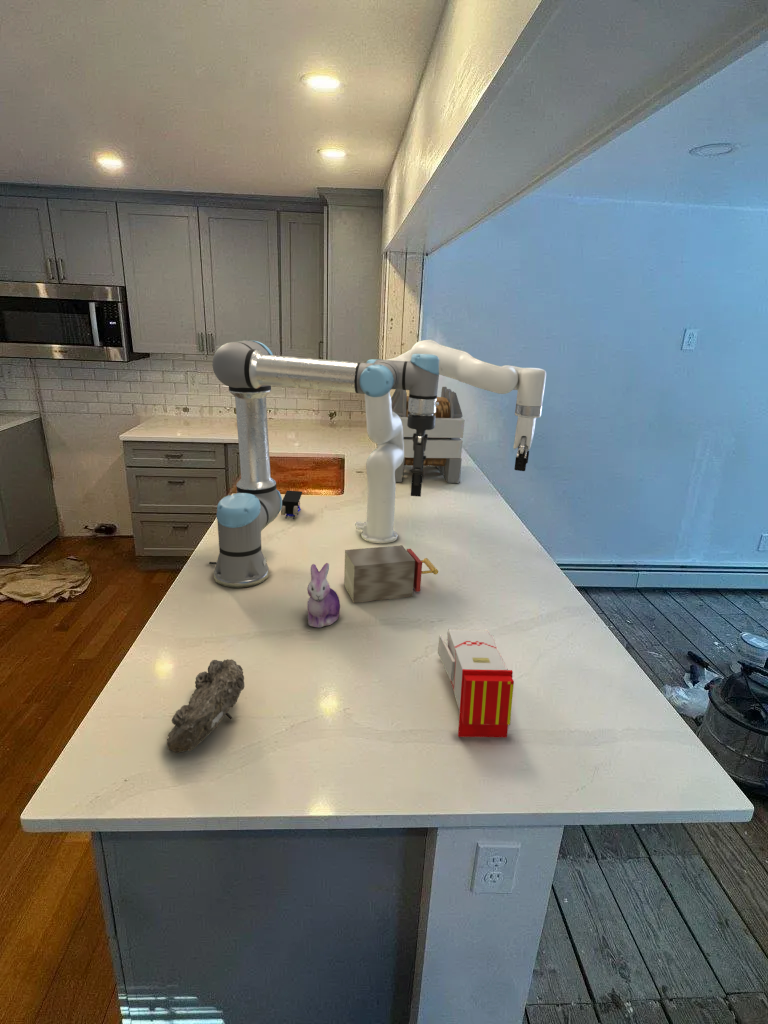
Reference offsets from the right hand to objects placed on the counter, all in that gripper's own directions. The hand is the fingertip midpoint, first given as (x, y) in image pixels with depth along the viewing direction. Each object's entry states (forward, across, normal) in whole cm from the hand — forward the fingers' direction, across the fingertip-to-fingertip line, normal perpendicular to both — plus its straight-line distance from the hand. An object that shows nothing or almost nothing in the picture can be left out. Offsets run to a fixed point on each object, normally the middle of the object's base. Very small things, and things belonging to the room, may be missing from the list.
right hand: (521, 466), depth 174 cm
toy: (+31, +73, -1) cm, 80 cm away
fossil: (+31, +98, -46) cm, 113 cm away
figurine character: (+31, -8, -82) cm, 88 cm away
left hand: (+4, +25, -27) cm, 36 cm away
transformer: (+31, -85, -52) cm, 104 cm away
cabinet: (+31, +38, -33) cm, 59 cm away
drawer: (+30, +35, -28) cm, 53 cm away
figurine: (+31, +58, -41) cm, 77 cm away
